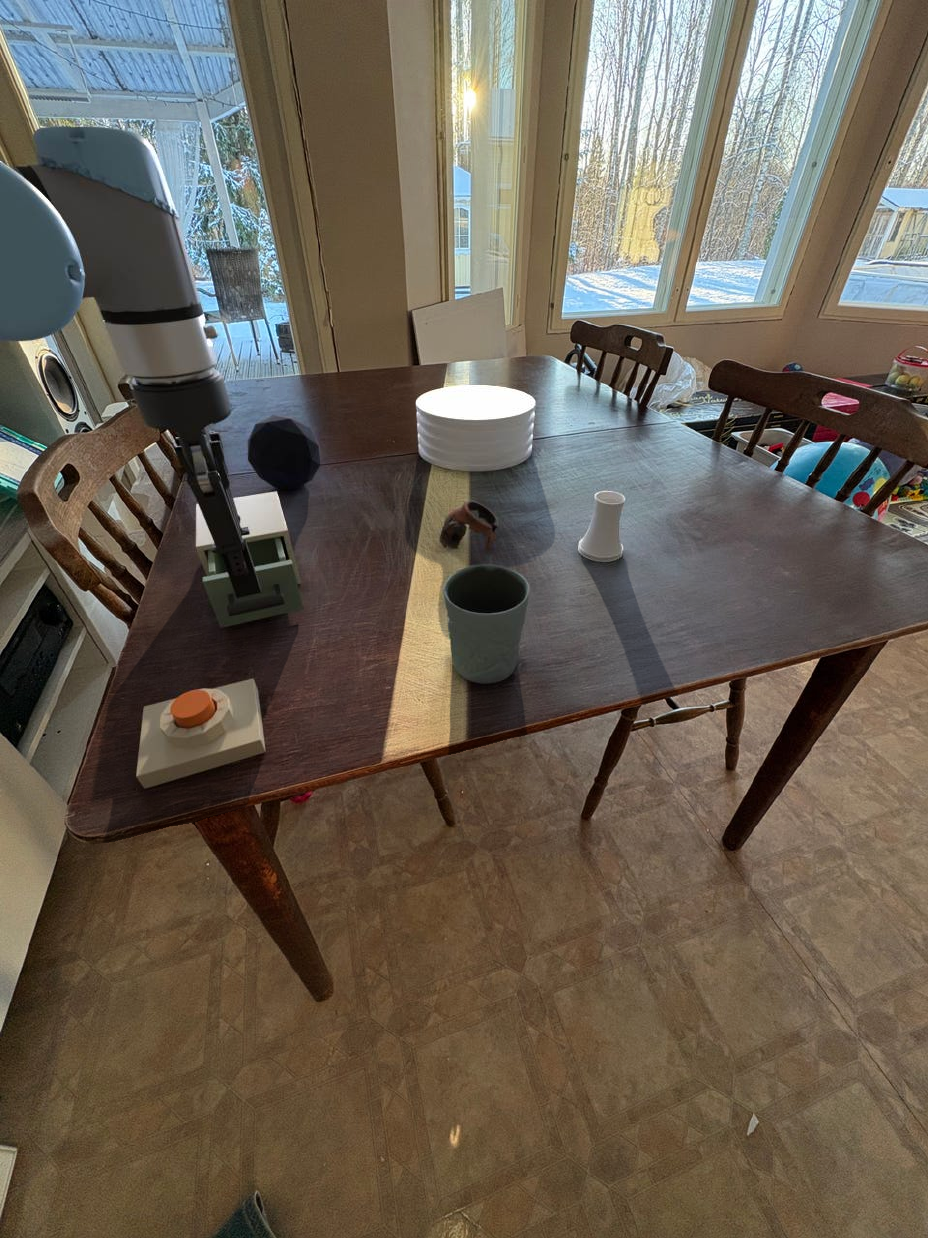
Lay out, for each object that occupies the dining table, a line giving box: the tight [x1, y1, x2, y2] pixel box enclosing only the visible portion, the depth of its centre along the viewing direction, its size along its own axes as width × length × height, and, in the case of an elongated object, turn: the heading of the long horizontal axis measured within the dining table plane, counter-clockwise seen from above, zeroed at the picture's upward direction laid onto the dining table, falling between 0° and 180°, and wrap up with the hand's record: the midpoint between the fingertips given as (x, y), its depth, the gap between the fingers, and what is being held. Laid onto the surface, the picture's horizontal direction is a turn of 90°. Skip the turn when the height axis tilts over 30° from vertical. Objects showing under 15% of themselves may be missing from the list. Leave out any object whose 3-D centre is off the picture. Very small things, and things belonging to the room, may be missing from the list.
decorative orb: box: [247, 414, 322, 490], centre depth 107 cm, size 14×15×15 cm
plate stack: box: [415, 384, 536, 472], centre depth 123 cm, size 28×28×12 cm
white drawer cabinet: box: [195, 490, 302, 585], centre depth 82 cm, size 15×13×10 cm
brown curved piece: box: [439, 500, 500, 550], centre depth 89 cm, size 12×10×8 cm
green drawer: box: [202, 536, 305, 629], centre depth 74 cm, size 18×11×8 cm, turn 22°
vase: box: [577, 490, 626, 563], centre depth 86 cm, size 8×8×10 cm
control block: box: [135, 677, 266, 790], centre depth 57 cm, size 12×10×4 cm
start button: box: [170, 689, 216, 729], centre depth 55 cm, size 4×4×2 cm
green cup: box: [442, 563, 531, 685], centre depth 63 cm, size 10×10×12 cm
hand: (248, 591), depth 59 cm, fingers closed
